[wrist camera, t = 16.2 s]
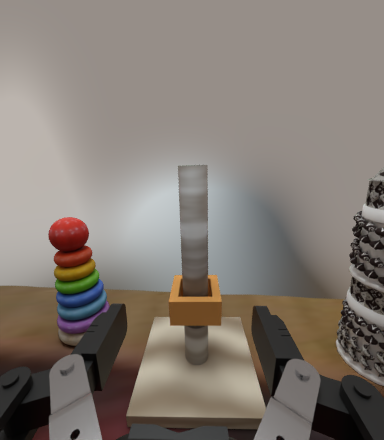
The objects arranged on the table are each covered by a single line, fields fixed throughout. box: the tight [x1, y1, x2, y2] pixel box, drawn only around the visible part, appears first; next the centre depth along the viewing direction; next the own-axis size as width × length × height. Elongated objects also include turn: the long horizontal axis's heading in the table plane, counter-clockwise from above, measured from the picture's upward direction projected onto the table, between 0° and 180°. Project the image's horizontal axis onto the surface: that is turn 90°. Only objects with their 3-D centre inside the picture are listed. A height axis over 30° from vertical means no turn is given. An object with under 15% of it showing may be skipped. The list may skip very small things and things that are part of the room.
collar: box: [169, 275, 222, 326], centre depth 25 cm, size 6×6×3 cm
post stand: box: [126, 165, 266, 429], centre depth 24 cm, size 14×14×26 cm
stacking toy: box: [49, 217, 109, 346], centre depth 32 cm, size 8×8×19 cm
